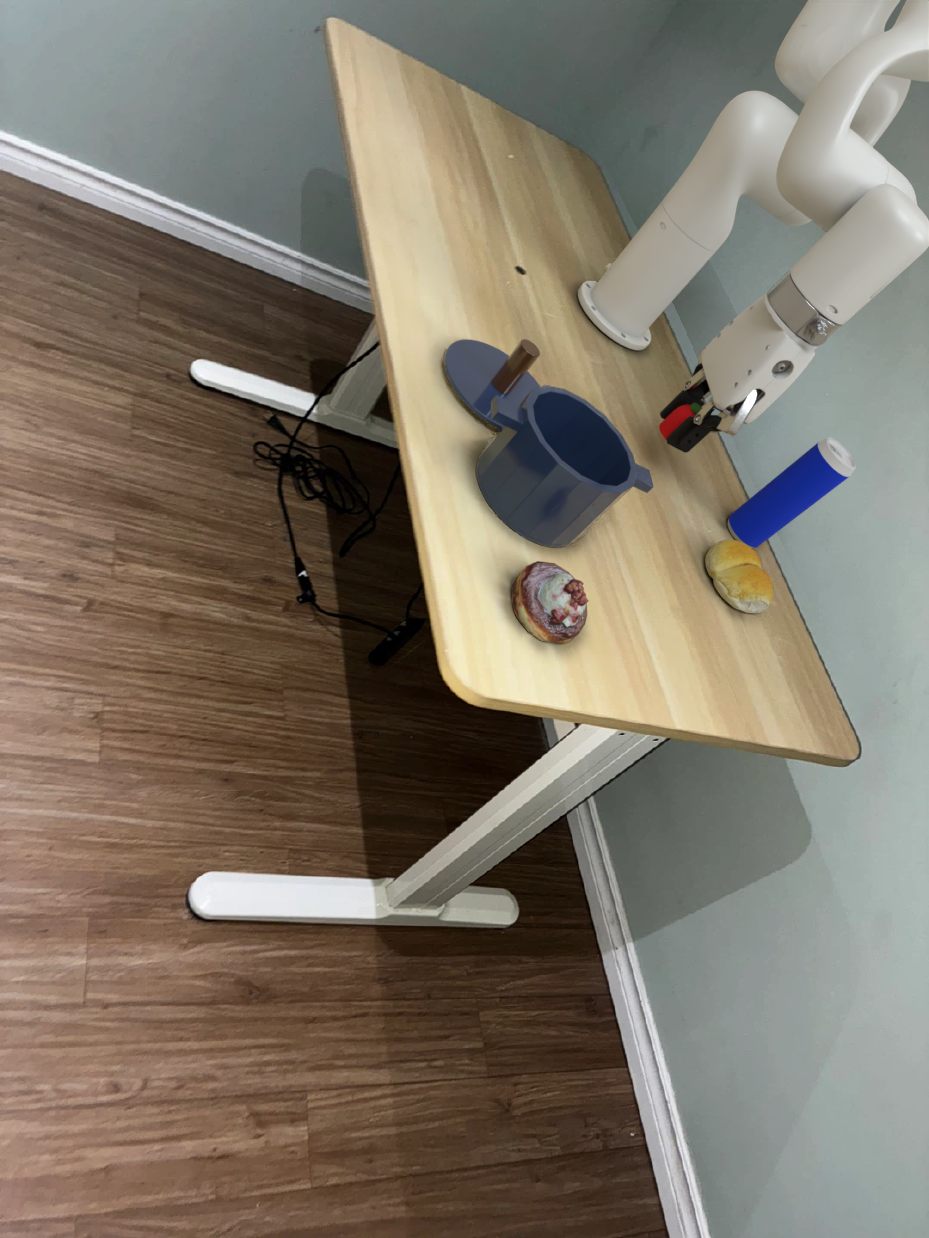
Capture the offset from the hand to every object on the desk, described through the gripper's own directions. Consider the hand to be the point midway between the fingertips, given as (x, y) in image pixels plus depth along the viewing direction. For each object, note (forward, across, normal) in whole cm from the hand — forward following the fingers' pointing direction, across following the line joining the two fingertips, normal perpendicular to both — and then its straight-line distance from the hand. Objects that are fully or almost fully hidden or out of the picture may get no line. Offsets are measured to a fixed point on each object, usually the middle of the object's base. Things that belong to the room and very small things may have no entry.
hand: (673, 432), depth 93 cm
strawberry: (0, 0, 0) cm, 0 cm away
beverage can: (+5, -5, -15) cm, 17 cm away
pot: (+5, -15, +18) cm, 24 cm away
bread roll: (+5, -15, -10) cm, 19 cm away
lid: (+5, -1, +21) cm, 22 cm away
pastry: (+5, -29, +18) cm, 34 cm away
